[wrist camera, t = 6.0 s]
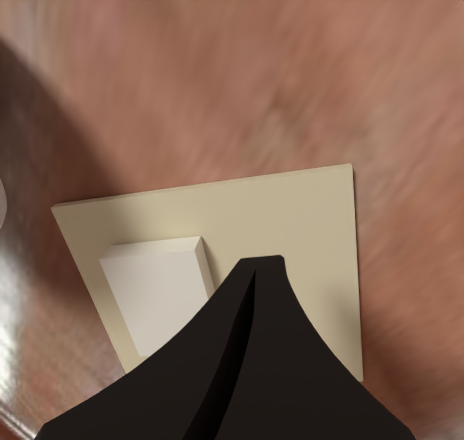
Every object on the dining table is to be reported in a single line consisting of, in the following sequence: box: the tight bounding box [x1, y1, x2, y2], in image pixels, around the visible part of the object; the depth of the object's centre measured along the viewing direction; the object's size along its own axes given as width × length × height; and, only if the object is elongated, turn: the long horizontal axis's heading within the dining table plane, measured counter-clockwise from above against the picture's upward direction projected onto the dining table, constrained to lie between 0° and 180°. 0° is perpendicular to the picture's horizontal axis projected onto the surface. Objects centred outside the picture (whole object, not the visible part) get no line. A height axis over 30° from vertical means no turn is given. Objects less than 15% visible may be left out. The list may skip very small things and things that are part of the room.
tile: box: [99, 236, 215, 356], centre depth 23 cm, size 2×8×6 cm
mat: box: [51, 163, 363, 381], centre depth 24 cm, size 18×16×1 cm
